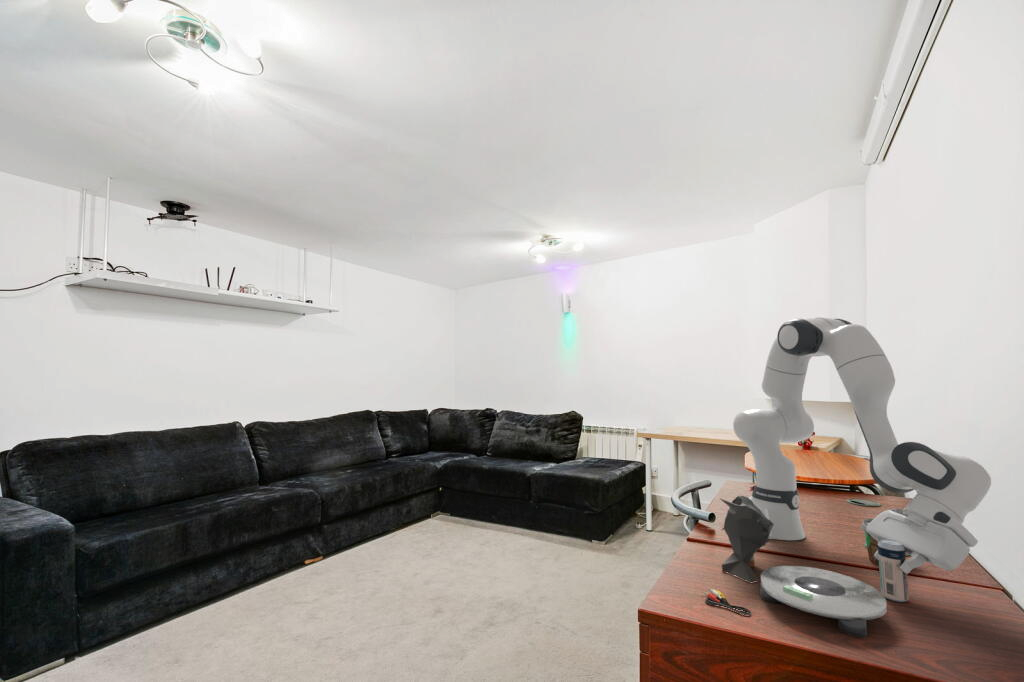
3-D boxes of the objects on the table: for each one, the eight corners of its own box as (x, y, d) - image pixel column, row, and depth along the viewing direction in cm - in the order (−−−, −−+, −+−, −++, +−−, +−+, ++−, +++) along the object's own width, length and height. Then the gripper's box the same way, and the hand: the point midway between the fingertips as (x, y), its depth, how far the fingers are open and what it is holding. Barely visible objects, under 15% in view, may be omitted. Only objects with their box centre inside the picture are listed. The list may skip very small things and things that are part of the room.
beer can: (914, 604, 99) (910, 546, 100) (889, 602, 100) (885, 545, 101) (900, 594, 104) (896, 539, 105) (876, 592, 105) (872, 537, 106)
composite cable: (754, 616, 95) (753, 604, 95) (738, 622, 93) (738, 609, 93) (713, 597, 104) (713, 585, 104) (698, 601, 101) (698, 589, 102)
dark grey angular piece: (792, 572, 116) (788, 498, 118) (751, 584, 109) (747, 505, 111) (742, 553, 129) (739, 487, 130) (702, 562, 122) (700, 493, 124)
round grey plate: (740, 600, 101) (739, 573, 102) (795, 578, 113) (794, 554, 113) (855, 649, 83) (853, 617, 83) (908, 617, 94) (906, 589, 94)
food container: (882, 552, 130) (879, 515, 130) (907, 560, 124) (904, 521, 125) (852, 558, 125) (849, 520, 126) (877, 566, 120) (874, 527, 120)
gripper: (881, 497, 114) (844, 538, 113) (963, 522, 94) (919, 572, 93) (900, 515, 114) (864, 557, 113) (986, 545, 94) (943, 595, 93)
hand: (889, 564), depth 103 cm, fingers closed on beer can, 5 cm apart
